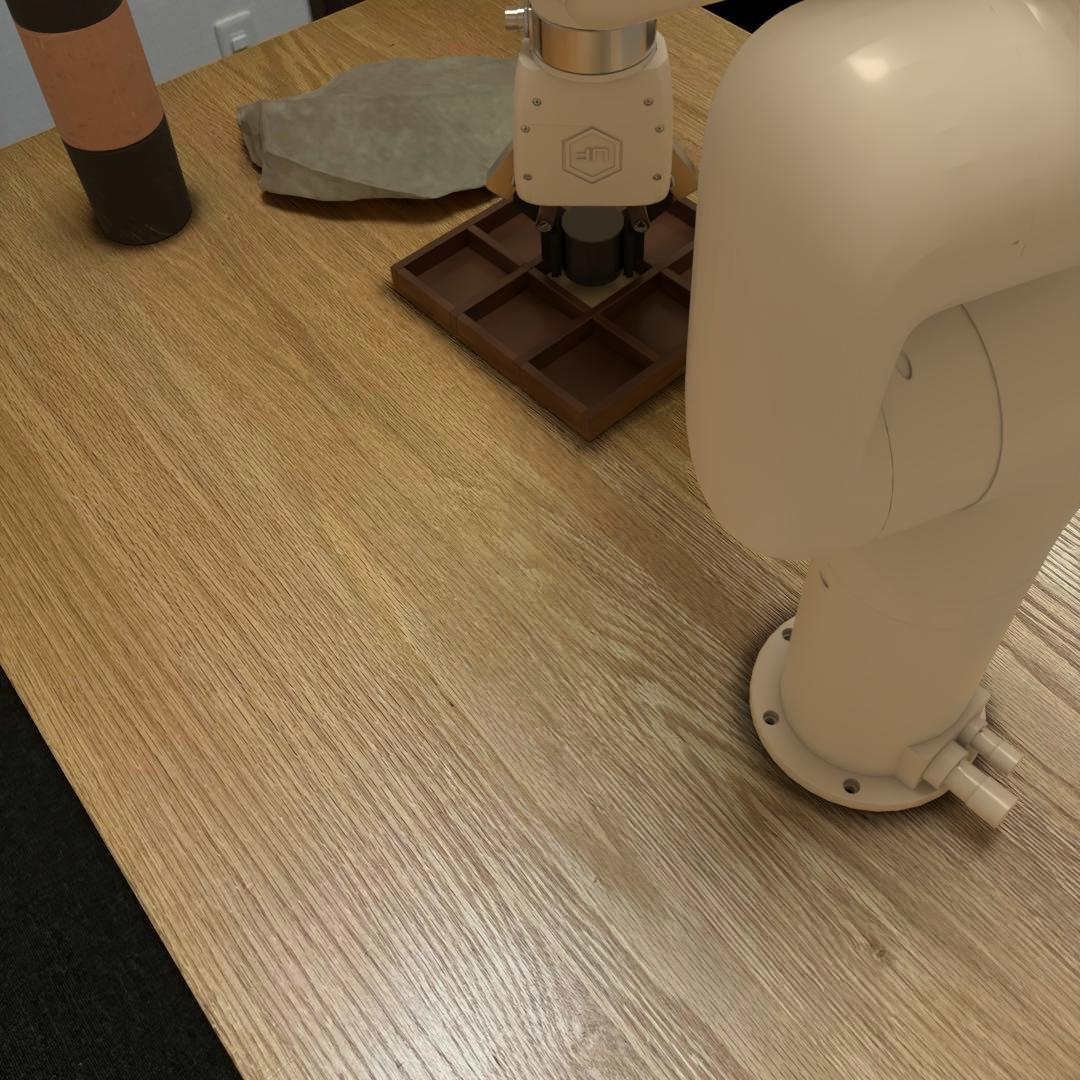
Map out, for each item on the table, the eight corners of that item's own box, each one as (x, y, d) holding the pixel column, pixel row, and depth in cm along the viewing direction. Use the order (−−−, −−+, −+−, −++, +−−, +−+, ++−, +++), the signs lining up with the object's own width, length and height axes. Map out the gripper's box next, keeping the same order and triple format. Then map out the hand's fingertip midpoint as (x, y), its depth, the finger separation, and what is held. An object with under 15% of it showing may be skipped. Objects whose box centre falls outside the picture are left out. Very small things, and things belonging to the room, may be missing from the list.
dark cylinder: (636, 266, 85) (638, 221, 82) (591, 296, 83) (591, 251, 80) (593, 237, 87) (593, 192, 84) (549, 266, 85) (547, 221, 82)
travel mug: (93, 197, 96) (-8, -50, 80) (189, 176, 97) (108, -71, 81) (102, 256, 91) (-3, 7, 75) (201, 234, 92) (119, -16, 76)
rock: (234, 177, 86) (226, 35, 98) (248, 248, 90) (238, 105, 103) (595, 148, 90) (544, 16, 102) (590, 218, 94) (541, 83, 107)
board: (796, 290, 86) (800, 267, 84) (589, 442, 78) (589, 419, 77) (596, 165, 96) (596, 142, 94) (393, 289, 88) (389, 266, 86)
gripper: (445, 62, 69) (471, 300, 83) (740, 60, 68) (713, 301, 83) (456, -8, 73) (479, 230, 88) (733, -10, 72) (709, 230, 87)
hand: (592, 262), depth 85 cm, fingers closed on dark cylinder, 4 cm apart
